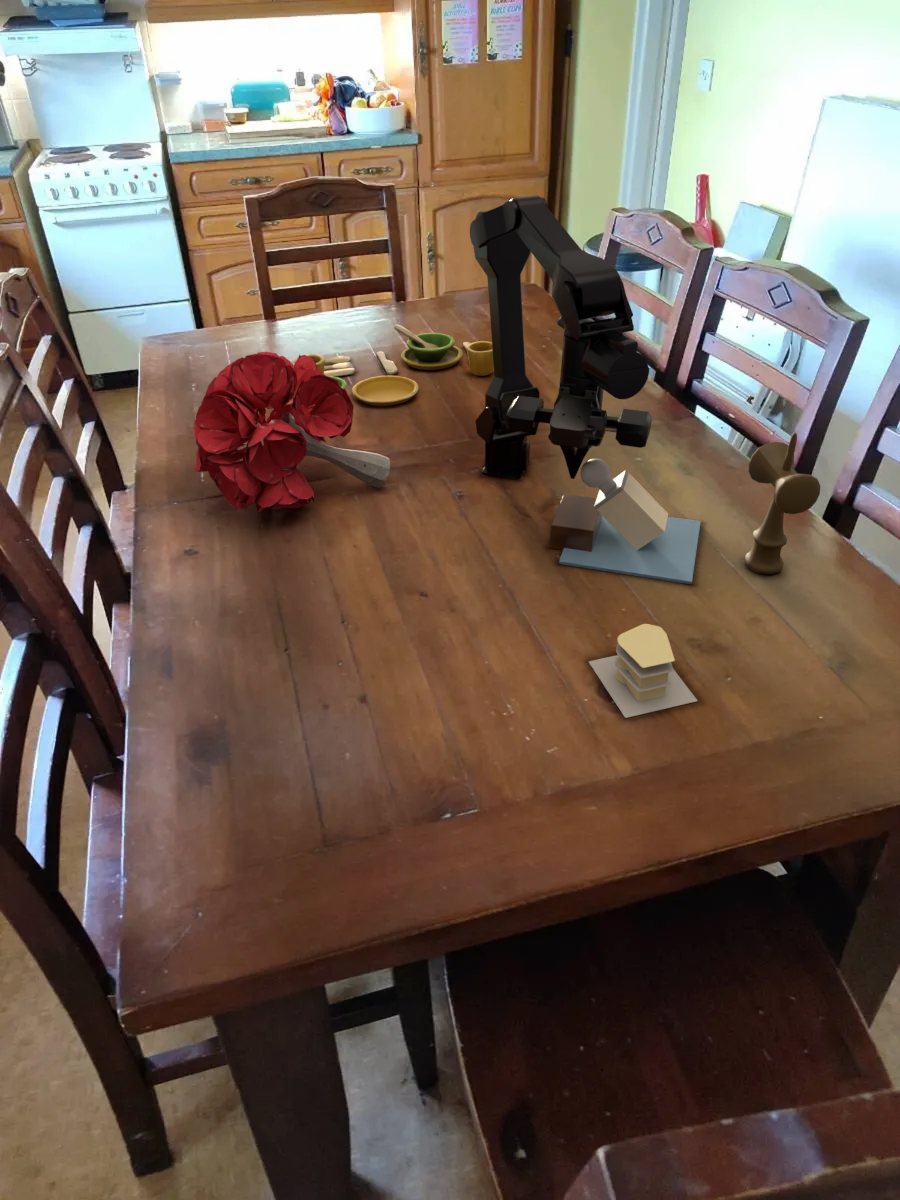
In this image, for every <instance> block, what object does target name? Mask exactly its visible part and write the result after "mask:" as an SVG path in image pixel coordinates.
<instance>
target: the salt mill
mask: <svg viewBox="0 0 900 1200" xmlns="http://www.w3.org/2000/svg"><path fill="white" fill-rule="evenodd" d="M610 474H611V470H610V467H609V465H608V463H607V462H606V461H604V460H603V459H601V458H595V457H594V458H590V459H588V460H586V461H585V462H584V463H583V465H582V466H581V468H580V474H579V475H580V479H581V481H582V483H583V484H584V485H586V486H587V487H589V488H593V489H596V488H598V489H599V490H598V493H597V496H596V498H597V499H596V502H595V505H594V508H595V509H597V511H598V512H599V513H600V514H601V515H602V516H603V517H604V518H605V519H606V520H607V521H608V522H609V523H610V524H611V525H612V526H613V527H614V528H615V529H616V530H617V531H618V532H619V533H620V534H621V535H622V536H623V537H624V538H625V539H626V540H627V541H628V542H629V543H630V544H631V545H632V546H633V547H634V548H635V549H636V550H639V549H640V548H641V547H643V546H644V545H646V544H647V543H649V542H650V541H652V540H653V539H655V538H656V537H658V536H659V535H661V534H662V533H664V532H665V528H666V523H667V518H668V517H669V513H668V512H667V511H666V509H664V507H662V505H661V504H660V503H659V502H658V501H657V500H656V499H655V498H654V497H653V496H652V495H651V494H650V493H649V492H648V491H647V490H646V489H645V488H644V487H643V486H642V485H641V484H640V483H639V482H638V481H637V480H636V478H635V477H633V475H632V474H631V473H630V472H629V471H628V470H626V469H625V470H623V471H622V472H620V473H619V474H618V475H617V476H615V477H614V478H612V477H611V476H610Z"/></svg>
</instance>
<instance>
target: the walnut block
mask: <svg viewBox="0 0 900 1200" xmlns="http://www.w3.org/2000/svg"><path fill="white" fill-rule="evenodd" d="M596 499H597V497H591V496H590V497H589V496H583V495H575V494H567V493H563V495H562V496H561V499H560V501H559V504H558V507H557V509H556V511H555V514H554V517H553V519H552V521H551V524H550V533H549V534H550V535H549V549H550V550H551V549H552V550H557V551H563V549H564V548H569V549H576V550H582V551H589V552H592V549H593V546H594V543H595V540H596V537H597V534H598V530H599V527H600V524H601V521H602V515H601V514H600V513H599V512H598V511H597V509H595V508H594V505H595V502H596Z"/></svg>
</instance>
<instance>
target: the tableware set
mask: <svg viewBox="0 0 900 1200" xmlns="http://www.w3.org/2000/svg"><path fill="white" fill-rule="evenodd" d="M393 329H394V330H395V331H396V332H397V333H400V334H401V335H403V336H405V337H406V338H408V339H407V340H406V346H407V347H408V348H406V349H404V350H403V351H402V352H401V354H400V358H401V360H402V361H403V362H404V363H406V365H407V366H409V367H411V368H414V369H417V370H425V371H436V370H442V369H447V368H450V367H453V366H454V365H456V364H457V363H458V362H459V361H460V360H461V359H462V357H463V355H464V354H463V353H464V352H463V350H462V349H461V348H459V347H457V346H456V345H455V343H456V341H455V338H454V337H452V336H451V335H449V334H446V333H441V332H425V333H418V334H415V333H413V332H411V331H410V330H409V329H407V328H406V327H404V326H403V325H401V324H394V326H393ZM462 344H463V348H465V350H466V354H467V358H468V359H467V360H468V363H469V364H468V365H469V371H470V373H471V374H472V375H474V376H480V377H481V376H482V377H484V376H489V375H491V374H492V373H494V364H493V349H492V341H487V340H486V341H485V340H482V341H475V342H469V341H464V342H463V343H462ZM305 355H306V356H309V357H312V358H314V360H315V362H316V365H317V367H316V368H317V369H319V370H320V371H322V372H323V373H324V374H325V375H326V376H328V377H331V378H333V379H335V380H337V381H338V384H339V386H340V387H341V388H343V389H345V390H346V389H347V386H348V385H347V382H346V380H344V379H342V378H341V377H343V376H351V375H354V374H355V373H356V369H355V367H354V366H353V364H352V361H351V357H350V356H348V355H336V356H333V357H331V358H329V359H328V358H327V359H325V357H324V356H322V355H320V354H312V353H311V354H305ZM376 355H377V358H378V360H379V362H380V364H381V366H382V367H383V369H384V372H385V373H386V375H377V376H372V377H368V378H366V379H363V380H360V381H358V382H357V383H356V384H355V385H354V386H352V389H351V393H352V395H353V396H354V397H355V398H356V399H357V400H358V401H360V402H361V403H363V404H366V405H370V406H377V407H383V406H384V407H387V406H388V407H389V406H394V405H395V406H396V405H399V404H403V403H405V402H407V401H409V400H411V399H412V398H413V397H414V396H415V395H417V393H418V391H419V384H418V383H417V382H416V381H415V380H413V379H411V378H408V377H404V376H402V375H401V376H399V375H395V374H398V371H399V369H398V368H397V366H396V364H395V362H394V361H392V360H389V359H387V357H386V354H385V352H384V351H377V352H376ZM297 358H298V357H296V358H295V359H294V360H293V363H292V364H293V366H294V363H295V362H296V360H297Z"/></svg>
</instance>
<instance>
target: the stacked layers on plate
mask: <svg viewBox="0 0 900 1200" xmlns="http://www.w3.org/2000/svg"><path fill="white" fill-rule="evenodd" d="M615 652H616V655H612V656H607V657H603V658H598V659H594V660H588V663H589V665H590V666H591V668H592V669H593V671H594V672H595V674H596V675H597V677H598V679H599V680H600V682H601V684H602V685H603V687H604V688H605V690H606V691H607V693H608V694H609V696H610V697H611V698H612V700H613V701H614V703H615V704H616V706H617V707H618V709H619V711H620V712H621V714H622V715H623V717H624V718H625V719H627V718H631V717H636V716H640V715H644V714H649V713H653V712H657V711H662V710H665V709H670V708H674V707H679V706H682V705H686V704H690V703H691V704H692V703H696V702H699V700H698V699H697V698H696V696H695V695H694V694H693V692H692V691H691V690H690V689H689V687H688V686H687V685H686V683H685V682H684V681H683V680H682V678H681V677H680V676H679V675H678V672H677V671H676V670H675V669H674V667H673V663H672V662H675V661H676V659H675V656H674V653H673V650H672V647H671V643H670V640H669V636H668V634H667V632H666V631H665V630H664V629H663V628H662V626H659V625H654V624H649V623H642V624H640V625H638V626H635V627H633V628H631V629H628V630H626V631H624V632H622V633H621V634H619V635H618V636H617V645H616V648H615Z"/></svg>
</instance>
